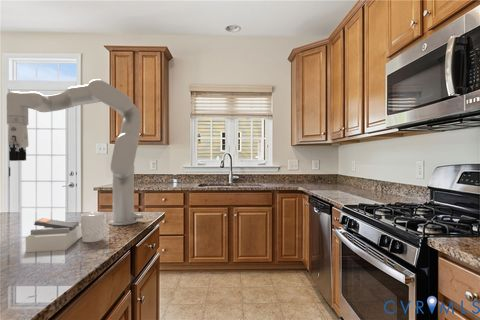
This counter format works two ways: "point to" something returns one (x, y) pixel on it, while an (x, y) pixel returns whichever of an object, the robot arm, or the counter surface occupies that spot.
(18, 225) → the counter surface
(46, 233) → the breaker panel
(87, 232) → the white cup
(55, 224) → the breaker rocker
